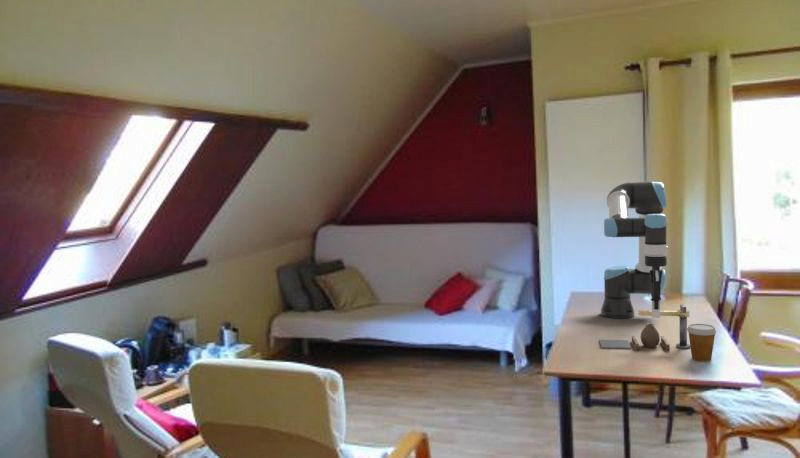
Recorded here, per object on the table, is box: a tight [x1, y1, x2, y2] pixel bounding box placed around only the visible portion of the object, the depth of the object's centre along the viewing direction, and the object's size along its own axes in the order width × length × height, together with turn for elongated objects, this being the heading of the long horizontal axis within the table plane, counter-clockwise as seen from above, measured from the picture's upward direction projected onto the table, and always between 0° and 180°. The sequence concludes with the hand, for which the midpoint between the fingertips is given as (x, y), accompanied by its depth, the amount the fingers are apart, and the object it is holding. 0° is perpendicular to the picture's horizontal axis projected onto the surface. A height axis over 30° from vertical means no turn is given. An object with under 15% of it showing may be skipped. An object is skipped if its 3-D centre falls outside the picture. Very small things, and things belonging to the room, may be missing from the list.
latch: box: [638, 303, 690, 318], centre depth 236 cm, size 5×18×4 cm, turn 77°
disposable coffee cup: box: [687, 323, 717, 362], centre depth 220 cm, size 10×10×12 cm
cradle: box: [631, 335, 671, 352], centre depth 239 cm, size 12×12×2 cm
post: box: [675, 317, 691, 350], centre depth 235 cm, size 5×5×12 cm
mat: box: [598, 339, 632, 350], centre depth 243 cm, size 11×11×1 cm
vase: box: [640, 323, 661, 349], centre depth 238 cm, size 7×7×9 cm
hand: (656, 317), depth 230 cm, fingers closed
